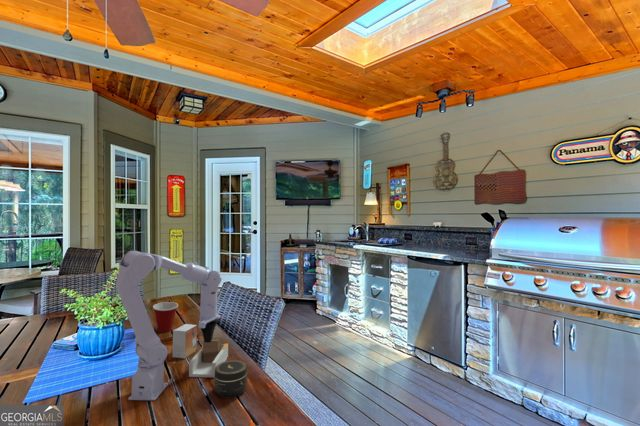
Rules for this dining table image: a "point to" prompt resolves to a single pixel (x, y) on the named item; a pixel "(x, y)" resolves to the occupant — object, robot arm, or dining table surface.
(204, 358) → the walnut block
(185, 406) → the dining table surface
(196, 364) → the grey chute
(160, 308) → the plastic cup
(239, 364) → the jar
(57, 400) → the dining table surface
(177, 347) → the small box
